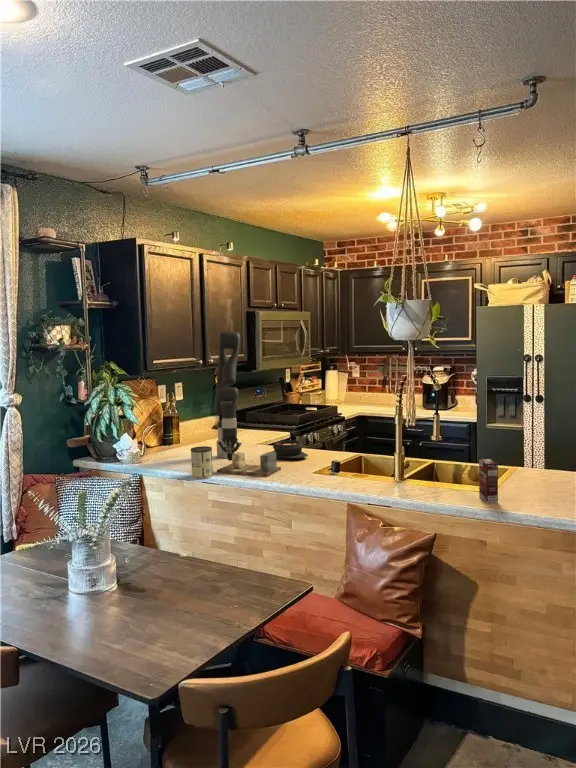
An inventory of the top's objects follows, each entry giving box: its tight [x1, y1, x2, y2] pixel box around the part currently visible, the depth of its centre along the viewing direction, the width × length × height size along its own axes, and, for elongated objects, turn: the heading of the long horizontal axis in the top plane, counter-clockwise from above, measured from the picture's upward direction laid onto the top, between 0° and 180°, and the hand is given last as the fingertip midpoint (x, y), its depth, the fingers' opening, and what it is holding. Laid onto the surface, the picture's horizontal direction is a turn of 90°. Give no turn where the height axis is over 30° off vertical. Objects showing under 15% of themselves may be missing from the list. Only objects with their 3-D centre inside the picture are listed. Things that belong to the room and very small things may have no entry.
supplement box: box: [478, 458, 499, 504], centre depth 246 cm, size 9×5×16 cm, turn 3°
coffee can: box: [190, 445, 214, 480], centre depth 301 cm, size 10×10×14 cm
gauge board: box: [216, 451, 282, 478], centre depth 310 cm, size 28×16×10 cm, turn 66°
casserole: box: [271, 439, 309, 460], centre depth 342 cm, size 25×19×8 cm
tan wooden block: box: [231, 451, 246, 469], centre depth 310 cm, size 4×10×7 cm, turn 156°
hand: (230, 460), depth 314 cm, fingers closed
